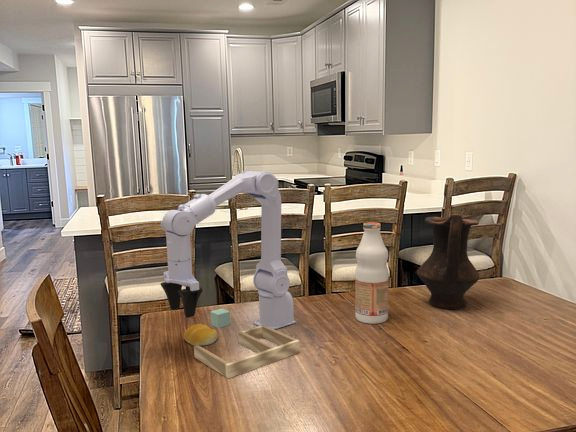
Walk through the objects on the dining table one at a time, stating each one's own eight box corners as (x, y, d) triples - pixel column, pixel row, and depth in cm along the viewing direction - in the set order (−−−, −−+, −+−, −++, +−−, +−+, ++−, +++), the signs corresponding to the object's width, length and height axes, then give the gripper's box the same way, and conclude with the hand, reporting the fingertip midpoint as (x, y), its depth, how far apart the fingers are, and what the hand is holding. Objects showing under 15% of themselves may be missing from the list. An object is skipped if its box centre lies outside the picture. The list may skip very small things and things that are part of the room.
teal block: (222, 321, 152) (222, 308, 151) (230, 325, 149) (229, 311, 148) (210, 324, 149) (210, 311, 149) (218, 328, 146) (217, 314, 146)
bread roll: (197, 349, 132) (196, 334, 132) (179, 340, 139) (178, 325, 138) (224, 341, 138) (223, 326, 137) (206, 332, 144) (205, 318, 144)
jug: (413, 294, 173) (414, 205, 169) (471, 295, 171) (474, 204, 166) (420, 316, 153) (422, 214, 148) (486, 317, 150) (490, 214, 145)
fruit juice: (354, 323, 148) (354, 226, 143) (356, 312, 157) (356, 220, 153) (388, 325, 146) (389, 226, 142) (388, 314, 155) (388, 220, 151)
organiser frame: (263, 335, 140) (263, 324, 140) (299, 352, 129) (299, 340, 128) (194, 357, 127) (193, 345, 127) (228, 378, 116) (227, 365, 115)
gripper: (151, 256, 130) (154, 309, 132) (178, 267, 119) (182, 324, 121) (176, 252, 135) (179, 303, 137) (205, 262, 124) (208, 317, 126)
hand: (182, 312), depth 129 cm, fingers open, 7 cm apart
